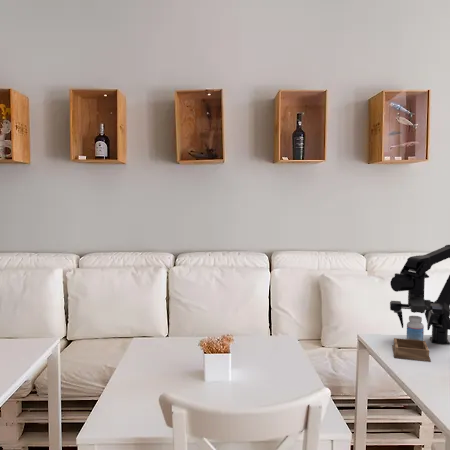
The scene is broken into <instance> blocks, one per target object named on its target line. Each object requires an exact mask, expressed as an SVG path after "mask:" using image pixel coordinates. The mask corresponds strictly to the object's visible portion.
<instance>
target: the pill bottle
mask: <svg viewBox="0 0 450 450" xmlns="http://www.w3.org/2000/svg"><path fill="white" fill-rule="evenodd" d="M422 320H423V319H422V316H419V315H409V316H408V322H407V323H406V339H409V340H420V341H424V332H425V331H424V330H425V329H424V327H425V326H424V324H423V323H422Z"/></svg>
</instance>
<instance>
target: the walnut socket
mask: <svg viewBox="0 0 450 450" xmlns="http://www.w3.org/2000/svg"><path fill="white" fill-rule="evenodd" d="M391 348H392V353H393V354H392V355H393V358H394V359H399V360H400V359H401V360H407V361H408V360H410V361H418V362H419V361H420V362H426V363H427V362H429V363H430V362H431V363H432V361H431V356H430V350H429V347H428V344H427V343H426V340H423V341H420V340H409V339H407V338H399V337H398V338H397V337H396V338H395V337H394V338H393V345H392V347H391Z"/></svg>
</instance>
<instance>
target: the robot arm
mask: <svg viewBox="0 0 450 450" xmlns="http://www.w3.org/2000/svg"><path fill="white" fill-rule="evenodd" d="M447 259H450V244H446V245H444V246H442V247H440V248H438V249H436V250H434V251H431V252H429V253H426V254H419V255H413V256H409V257H408V258H407V261H406V262H405V263H404V265H403V267H402V269H401V270H400V272H399V273H398V272H397V273H394V276H393V277H392V278H391V280H390V283H389V284H390V287H391V289H392V290H393V291H394V292H396V293H397V292H406V291H408V292H407V293H408V295H407V303H402V302H401V300H390V302H389V309H390V311H393V313H395V314H396V315H397V317H398V319H399V321H400V325H401V328H402V329H404V320H403V319H404V317H403V312H402V311H403V310H402V309H404V310H410V312H411V313H420V314H424V316H425V321H426V324H427V325H426V327H427V329H426V330H427V331H429V330H430V328H431V336H429V340H430V342H431V343H432V344H441V345H442V344H443V345H450V341H449V339H448V336H449V335H448V334H449V331H450V274H448V277H447V279H446V281H445V283H444V285H443V287H442V289H441V291H440V293H439V295H438V297H437V299H436V300H435V301H431V299H425V285H426V283H425V282H426V281H425V279H428V278H430V275H428V274H427V272H428V271H429V270H431V269H432V266H434V265H435V264H437V263H438V264H439V263H440V262H442V261H445V260H447Z"/></svg>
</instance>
